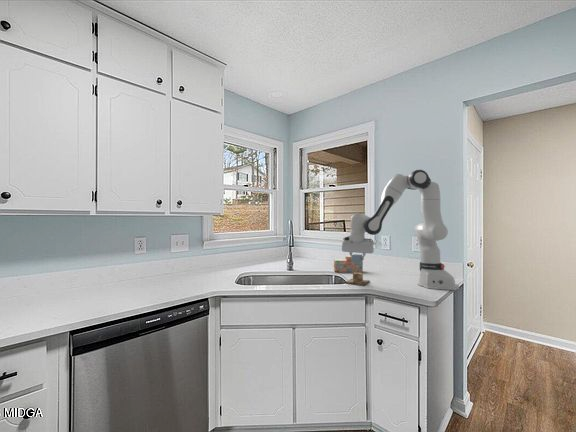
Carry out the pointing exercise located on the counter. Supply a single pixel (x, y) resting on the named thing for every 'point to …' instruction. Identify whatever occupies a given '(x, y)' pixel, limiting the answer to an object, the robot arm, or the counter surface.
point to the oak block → (357, 277)
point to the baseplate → (358, 282)
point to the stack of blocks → (347, 265)
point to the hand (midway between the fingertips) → (357, 259)
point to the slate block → (356, 258)
